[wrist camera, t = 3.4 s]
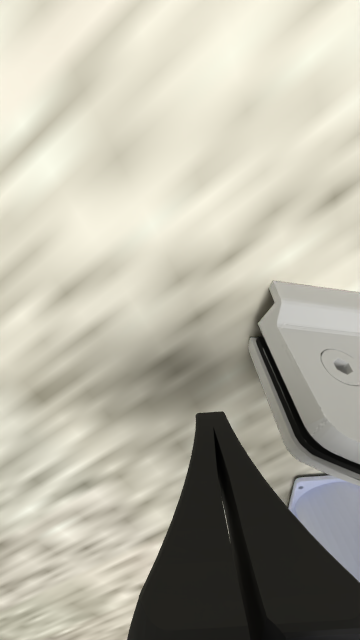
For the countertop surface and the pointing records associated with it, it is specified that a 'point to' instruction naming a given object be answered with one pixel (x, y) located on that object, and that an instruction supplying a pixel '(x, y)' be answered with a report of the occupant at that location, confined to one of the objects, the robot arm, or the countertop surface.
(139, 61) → the countertop surface
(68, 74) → the countertop surface
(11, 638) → the countertop surface
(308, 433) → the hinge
